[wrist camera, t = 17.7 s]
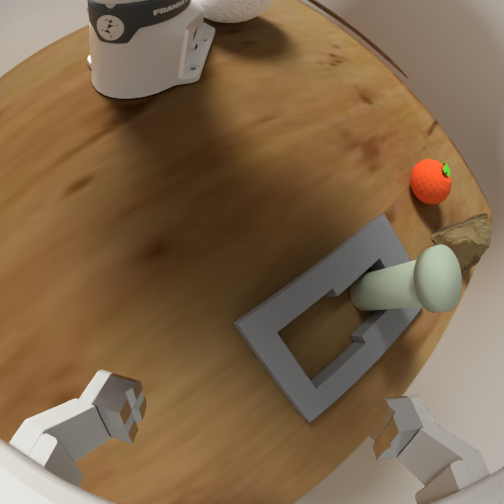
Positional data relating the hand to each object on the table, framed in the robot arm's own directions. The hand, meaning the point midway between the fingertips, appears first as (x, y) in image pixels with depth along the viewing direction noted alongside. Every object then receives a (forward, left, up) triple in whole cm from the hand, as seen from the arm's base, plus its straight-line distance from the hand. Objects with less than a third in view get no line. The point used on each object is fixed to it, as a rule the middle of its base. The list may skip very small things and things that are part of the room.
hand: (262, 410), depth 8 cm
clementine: (-29, +25, -19) cm, 43 cm away
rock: (-21, +34, -19) cm, 44 cm away
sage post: (-10, +16, -19) cm, 27 cm away
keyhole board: (-7, +14, -19) cm, 24 cm away
